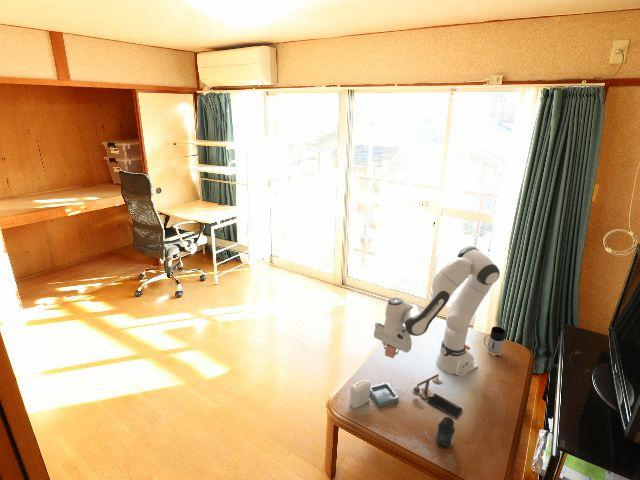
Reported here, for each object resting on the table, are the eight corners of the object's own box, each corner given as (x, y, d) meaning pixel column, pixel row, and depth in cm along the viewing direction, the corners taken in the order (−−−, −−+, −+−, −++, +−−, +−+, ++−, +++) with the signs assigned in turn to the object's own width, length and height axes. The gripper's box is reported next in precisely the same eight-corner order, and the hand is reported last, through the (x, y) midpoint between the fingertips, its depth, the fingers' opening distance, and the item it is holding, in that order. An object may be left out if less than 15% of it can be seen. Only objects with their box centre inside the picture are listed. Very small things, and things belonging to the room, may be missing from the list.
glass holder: (504, 354, 217) (510, 332, 212) (486, 359, 212) (491, 338, 207) (493, 345, 225) (498, 324, 219) (475, 350, 220) (480, 329, 214)
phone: (433, 392, 186) (463, 408, 177) (433, 394, 186) (462, 410, 177) (426, 401, 180) (456, 418, 171) (426, 403, 181) (456, 420, 172)
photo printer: (364, 395, 184) (366, 375, 179) (370, 401, 180) (372, 381, 176) (348, 404, 178) (349, 383, 174) (353, 410, 175) (355, 389, 170)
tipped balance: (435, 386, 191) (438, 369, 187) (442, 394, 186) (446, 377, 182) (408, 394, 186) (410, 376, 181) (415, 402, 180) (417, 385, 176)
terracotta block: (396, 353, 192) (397, 344, 190) (393, 358, 188) (394, 348, 186) (388, 350, 194) (389, 341, 192) (384, 355, 191) (385, 345, 188)
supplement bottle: (455, 446, 158) (460, 425, 154) (442, 450, 156) (446, 429, 152) (444, 433, 164) (449, 412, 160) (432, 437, 162) (436, 417, 158)
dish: (386, 385, 190) (387, 381, 190) (398, 401, 181) (398, 397, 180) (367, 390, 187) (368, 386, 186) (378, 407, 177) (379, 403, 176)
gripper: (372, 323, 190) (370, 345, 195) (408, 339, 177) (405, 362, 182) (378, 318, 194) (377, 340, 199) (414, 333, 182) (411, 356, 187)
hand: (390, 351), depth 191 cm, fingers closed on terracotta block, 5 cm apart
